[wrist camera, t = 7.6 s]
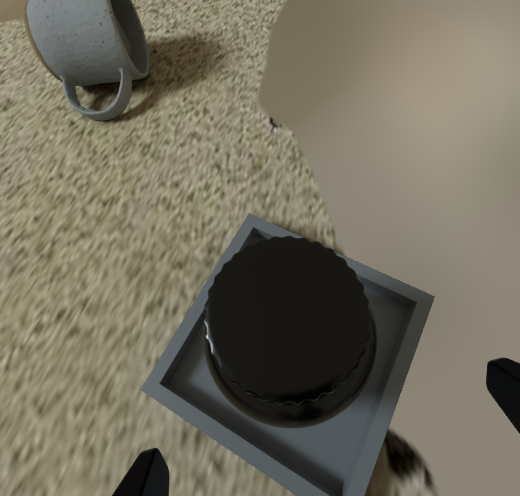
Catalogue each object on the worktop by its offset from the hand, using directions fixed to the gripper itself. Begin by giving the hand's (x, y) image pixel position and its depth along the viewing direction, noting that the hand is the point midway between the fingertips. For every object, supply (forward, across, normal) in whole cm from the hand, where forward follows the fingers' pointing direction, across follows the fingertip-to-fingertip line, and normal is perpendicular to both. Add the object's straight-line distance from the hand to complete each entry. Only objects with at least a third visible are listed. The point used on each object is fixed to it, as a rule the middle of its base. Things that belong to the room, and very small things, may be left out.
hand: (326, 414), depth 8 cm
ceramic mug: (+31, +10, -14) cm, 35 cm away
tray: (+11, 0, +6) cm, 12 cm away
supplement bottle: (+10, 0, +6) cm, 12 cm away
